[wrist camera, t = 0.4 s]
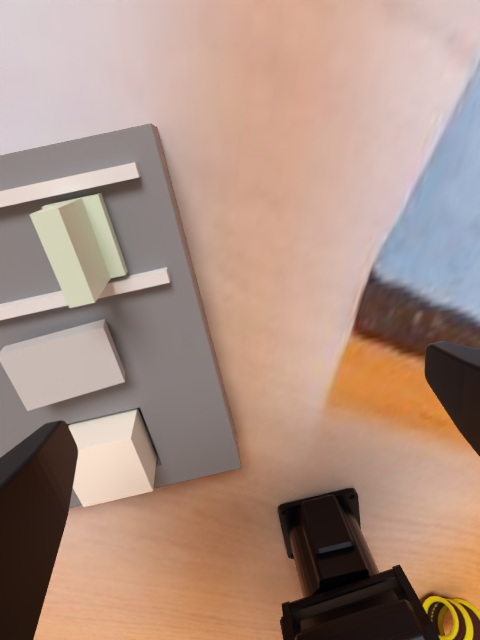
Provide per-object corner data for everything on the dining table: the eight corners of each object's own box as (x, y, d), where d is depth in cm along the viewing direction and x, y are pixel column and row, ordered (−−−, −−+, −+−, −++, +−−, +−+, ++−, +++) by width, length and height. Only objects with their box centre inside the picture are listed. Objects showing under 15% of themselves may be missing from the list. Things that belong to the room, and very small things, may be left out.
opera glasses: (432, 578, 37) (465, 637, 33) (468, 590, 39) (504, 647, 34) (373, 632, 40) (395, 693, 36) (408, 641, 42) (434, 700, 37)
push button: (157, 457, 24) (152, 491, 21) (94, 471, 24) (83, 507, 21) (137, 407, 22) (130, 438, 20) (70, 422, 22) (55, 455, 19)
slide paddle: (127, 271, 18) (112, 298, 14) (77, 282, 18) (51, 312, 14) (101, 192, 16) (77, 203, 13) (46, 204, 16) (9, 218, 13)
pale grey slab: (125, 372, 20) (124, 381, 19) (32, 399, 19) (27, 411, 18) (104, 318, 19) (102, 326, 18) (3, 346, 18) (-3, 356, 17)
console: (236, 435, 27) (242, 475, 24) (43, 480, 27) (22, 526, 23) (156, 127, 18) (149, 122, 15) (-129, 188, 18) (-200, 196, 15)
